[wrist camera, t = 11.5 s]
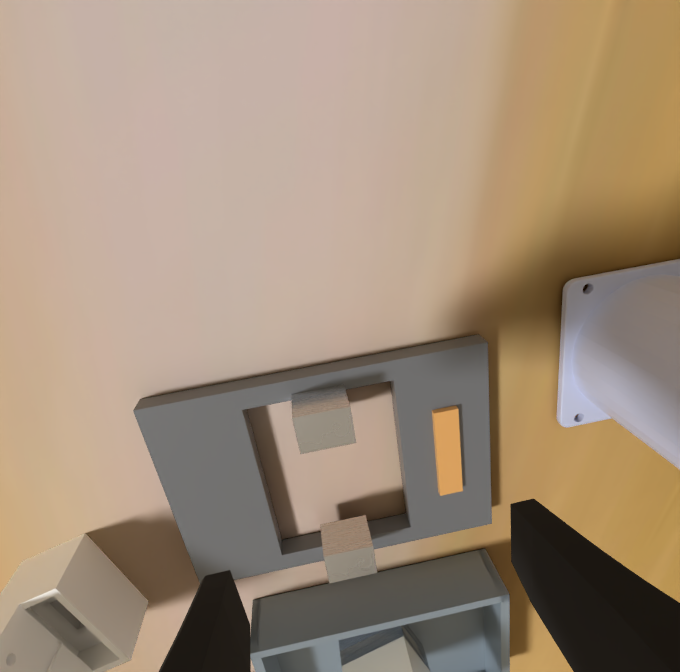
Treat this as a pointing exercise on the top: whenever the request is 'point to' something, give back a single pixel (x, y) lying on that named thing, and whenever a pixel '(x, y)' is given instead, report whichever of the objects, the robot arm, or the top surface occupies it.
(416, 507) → the frame
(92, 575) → the white wedge bracket
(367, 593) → the tray
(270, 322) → the top surface
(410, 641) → the tan rectangular block
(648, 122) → the top surface
